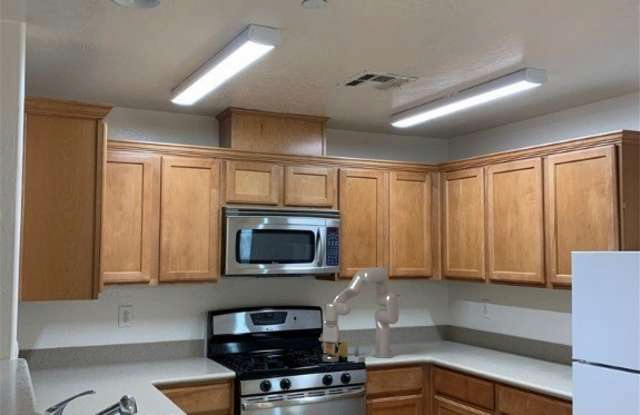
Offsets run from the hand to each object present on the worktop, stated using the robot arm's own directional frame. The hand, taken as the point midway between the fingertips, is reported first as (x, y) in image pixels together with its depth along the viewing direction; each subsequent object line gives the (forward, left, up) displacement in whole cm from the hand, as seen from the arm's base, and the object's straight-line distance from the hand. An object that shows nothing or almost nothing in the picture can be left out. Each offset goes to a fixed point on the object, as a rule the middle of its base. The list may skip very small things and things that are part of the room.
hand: (330, 352), depth 385 cm
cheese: (-20, -7, -6) cm, 22 cm away
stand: (-11, +12, -5) cm, 17 cm away
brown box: (0, 0, -1) cm, 1 cm away
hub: (0, 0, -5) cm, 5 cm away
